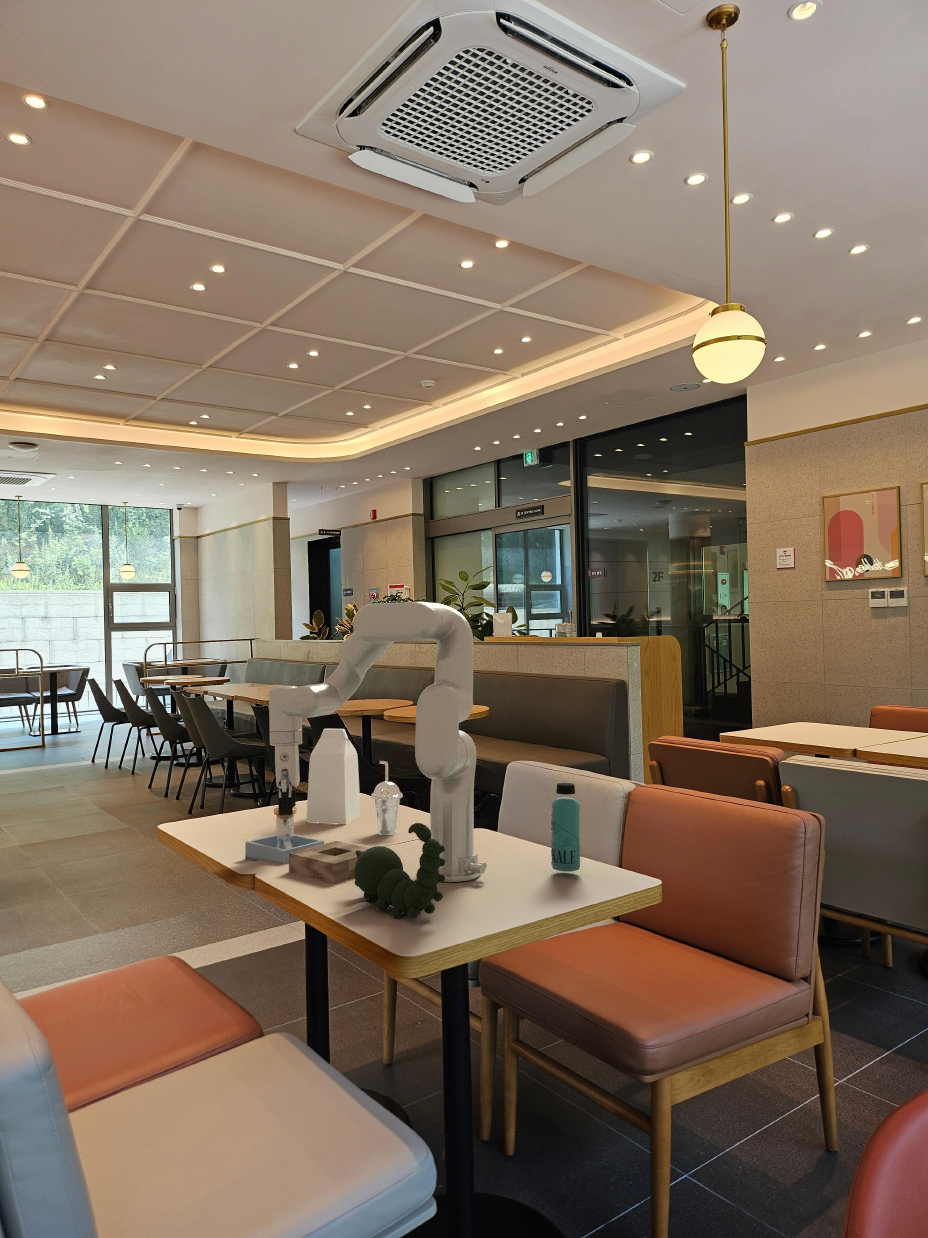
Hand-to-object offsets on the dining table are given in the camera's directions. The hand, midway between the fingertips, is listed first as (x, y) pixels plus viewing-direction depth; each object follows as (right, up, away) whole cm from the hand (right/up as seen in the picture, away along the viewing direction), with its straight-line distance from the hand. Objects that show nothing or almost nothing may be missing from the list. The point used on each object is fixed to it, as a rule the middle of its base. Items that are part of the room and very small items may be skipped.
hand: (287, 810), depth 195 cm
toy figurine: (+29, -10, -38) cm, 49 cm away
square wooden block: (+14, -11, -15) cm, 23 cm away
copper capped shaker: (0, -10, -1) cm, 10 cm away
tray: (-1, -11, 0) cm, 11 cm away
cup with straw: (+21, -12, +25) cm, 35 cm away
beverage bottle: (+64, -11, -14) cm, 67 cm away
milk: (+4, -13, +43) cm, 45 cm away
